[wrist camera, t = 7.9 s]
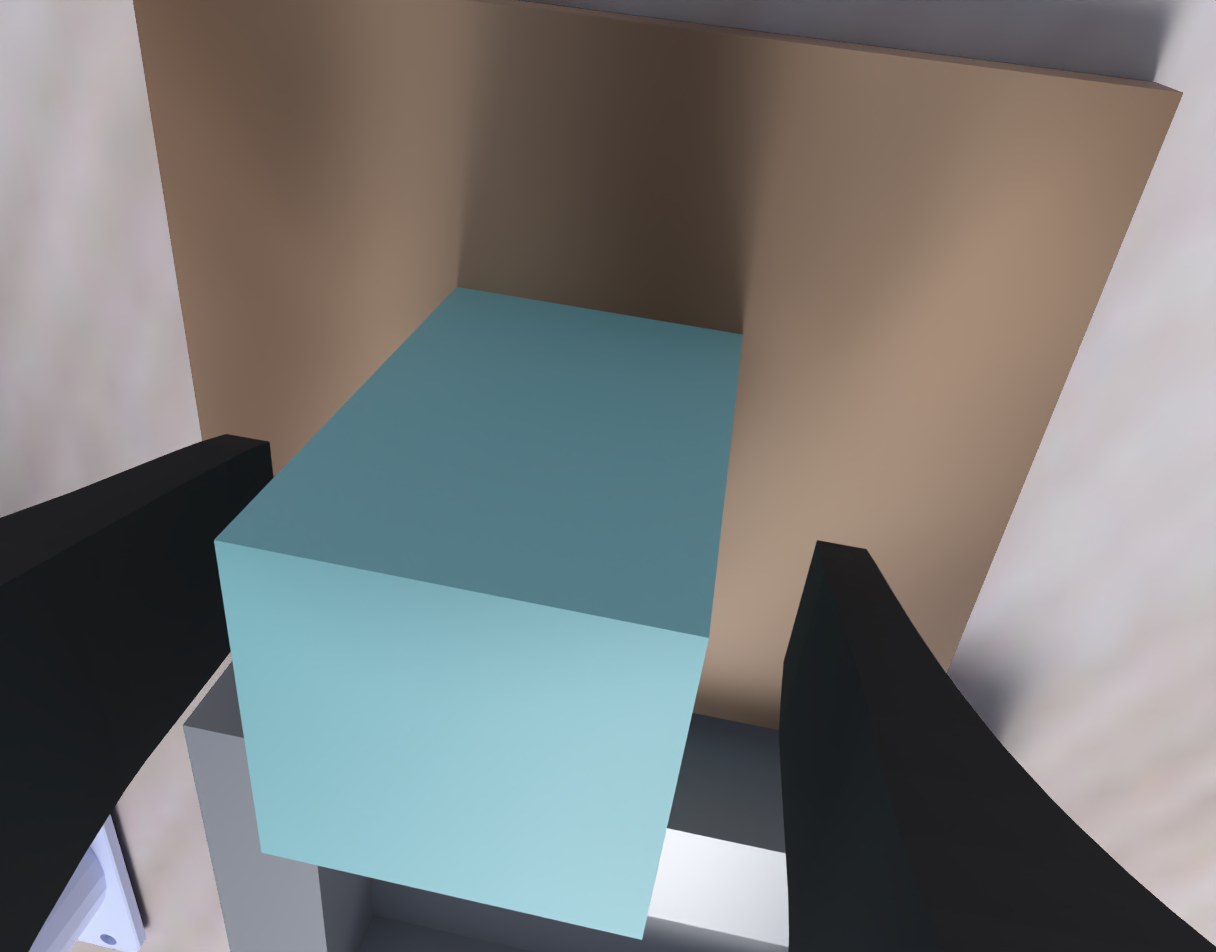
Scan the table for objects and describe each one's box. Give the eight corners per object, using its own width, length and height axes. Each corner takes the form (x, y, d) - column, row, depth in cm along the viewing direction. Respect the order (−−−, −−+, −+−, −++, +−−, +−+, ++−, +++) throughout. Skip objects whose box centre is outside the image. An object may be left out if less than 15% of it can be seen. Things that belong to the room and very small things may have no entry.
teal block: (452, 522, 16) (261, 852, 10) (456, 286, 14) (214, 539, 8) (695, 569, 16) (642, 940, 10) (743, 334, 14) (709, 637, 8)
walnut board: (254, 591, 19) (230, 620, 19) (168, -45, 13) (126, -44, 12) (906, 718, 18) (912, 756, 17) (1155, 81, 12) (1183, 92, 11)
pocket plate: (301, 936, 26) (249, 1042, 24) (259, 626, 20) (182, 725, 17) (850, 1063, 25) (858, 1191, 22) (991, 771, 19) (1023, 904, 16)
